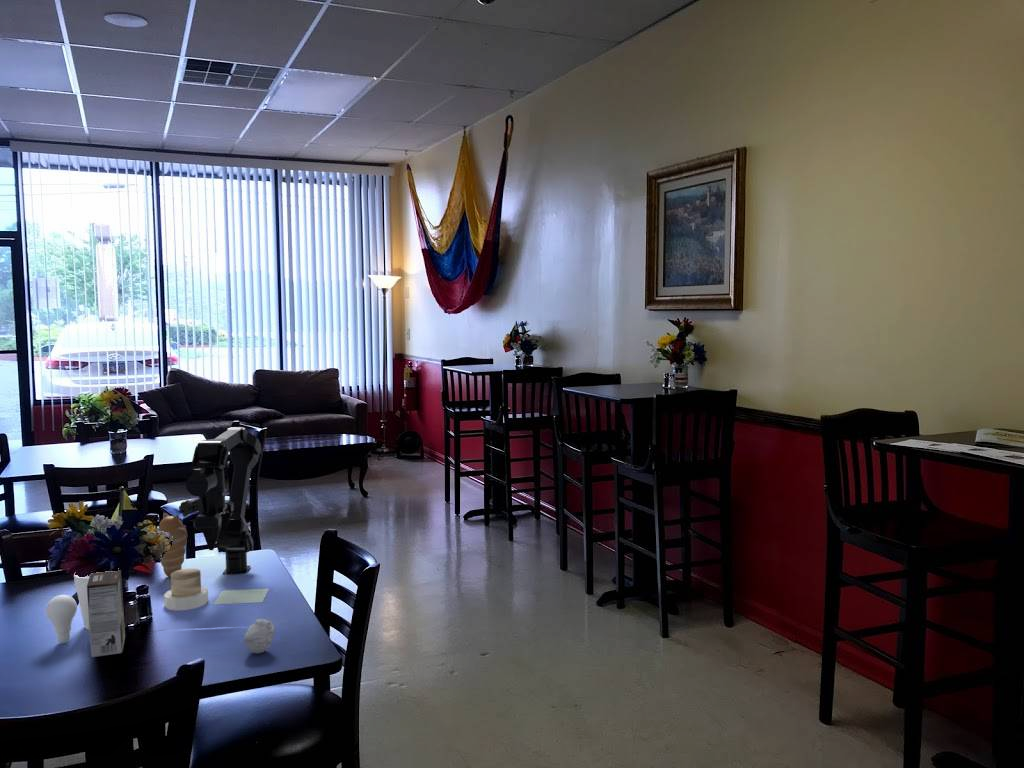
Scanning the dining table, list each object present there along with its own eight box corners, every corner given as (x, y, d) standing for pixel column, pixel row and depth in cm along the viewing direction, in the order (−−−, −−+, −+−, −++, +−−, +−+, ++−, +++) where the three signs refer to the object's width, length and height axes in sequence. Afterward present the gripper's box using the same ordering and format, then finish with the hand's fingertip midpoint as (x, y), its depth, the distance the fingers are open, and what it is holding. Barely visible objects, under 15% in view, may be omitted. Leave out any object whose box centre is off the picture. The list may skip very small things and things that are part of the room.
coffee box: (94, 642, 182) (90, 572, 180) (125, 637, 184) (122, 568, 183) (89, 658, 173) (85, 585, 172) (122, 653, 176) (118, 581, 174)
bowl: (172, 598, 209) (171, 586, 209) (212, 596, 210) (211, 584, 210) (160, 612, 199) (159, 600, 199) (202, 610, 200) (201, 598, 200)
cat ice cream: (195, 574, 228) (192, 512, 226) (173, 583, 221) (170, 518, 219) (172, 570, 232) (169, 509, 230) (149, 578, 224) (146, 515, 223)
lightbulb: (83, 642, 182) (80, 595, 181) (53, 651, 177) (50, 602, 176) (73, 635, 186) (70, 588, 185) (44, 643, 181) (41, 595, 180)
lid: (176, 588, 207) (175, 569, 207) (204, 586, 208) (203, 567, 208) (167, 597, 201) (166, 578, 200) (197, 596, 201) (196, 576, 201)
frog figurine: (281, 648, 178) (280, 617, 177) (259, 660, 171) (258, 629, 171) (260, 643, 180) (258, 613, 180) (237, 656, 174) (236, 624, 173)
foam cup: (108, 632, 187) (105, 578, 186) (69, 632, 187) (65, 578, 186) (128, 617, 196) (125, 565, 195) (91, 617, 197) (88, 565, 195)
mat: (222, 592, 213) (222, 590, 213) (269, 589, 215) (269, 588, 215) (213, 605, 204) (213, 604, 203) (262, 603, 205) (262, 602, 205)
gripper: (191, 481, 222) (193, 536, 223) (171, 496, 203) (173, 557, 205) (233, 479, 223) (235, 534, 225) (216, 495, 205) (219, 555, 206)
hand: (215, 545), depth 215 cm, fingers open, 9 cm apart
